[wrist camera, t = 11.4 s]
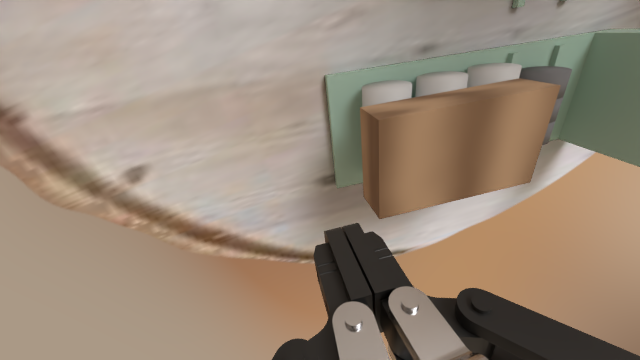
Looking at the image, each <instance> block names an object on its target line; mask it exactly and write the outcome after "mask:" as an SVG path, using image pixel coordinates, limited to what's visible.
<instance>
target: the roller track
mask: <svg viewBox="0 0 640 360" xmlns="http://www.w3.org/2000/svg"><path fill="white" fill-rule="evenodd" d="M535 66H558V67H566V68H570V69H572V72H571V75H570V79H569V82H568V85H567V88H566V91H565V94H564V97H563V100H562V103H561V106H560V109H559V112H558V115H557V118H556V121H555V124H554V127H553V130H552V133H551V136H550V140H549V141H552V140H556V139H560V140H563V141H566V142H569V143H572V144H575V145H578V146H580V147H583V148H586V149H589V150H592V151H595V152H598V153H601V154H604V155H607V156H610V157H612V158H616V159H618V160H621V161H624V162H627V163H630V164H633V165H636V166H639V167H640V29H608V30H601V31H595V32H589V33H583V34H577V35H571V36H564V37H558V38H552V39H546V40H540V41H534V42H527V43H521V44H515V45H509V46H503V47H497V48H490V49H484V50H478V51H472V52H466V53H460V54H453V55H447V56H441V57H435V58H429V59H423V60H416V61H410V62H404V63H398V64H392V65H386V66H379V67H373V68H367V69H361V70H355V71H349V72H342V73H336V74H330V75H325V83H326V93H327V103H328V113H329V122H330V132H331V142H332V152H333V162H334V172H335V182H336V186H337V188H341V187H346V186H350V185H355V184H359V183H363V168H362V145H361V121H360V107H365V106H370V105H376V104H381V103H387V102H392V101H398V100H403V99H409V98H414V97H420V96H425V95H431V94H436V93H441V92H447V91H452V90H458V89H463V88H469V87H474V86H480V85H485V84H491V83H496V82H502V81H507V80H513V79H518V78H519V76H520V72H521V68H526V67H535Z"/></svg>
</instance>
